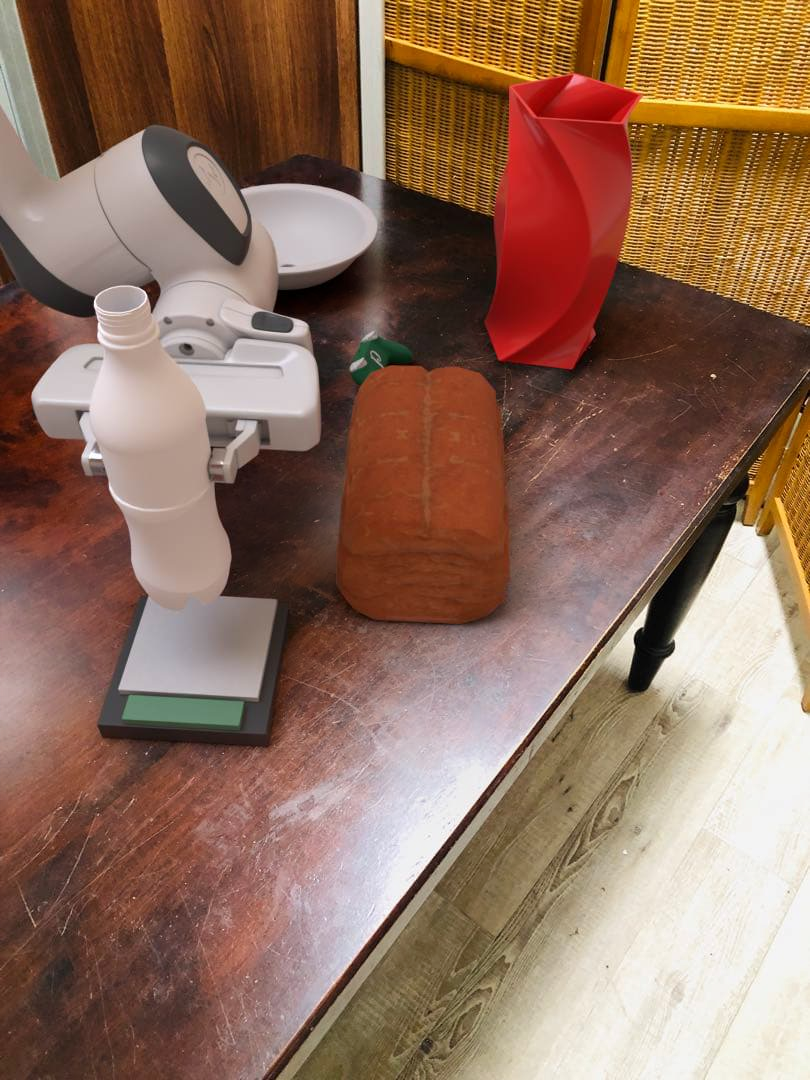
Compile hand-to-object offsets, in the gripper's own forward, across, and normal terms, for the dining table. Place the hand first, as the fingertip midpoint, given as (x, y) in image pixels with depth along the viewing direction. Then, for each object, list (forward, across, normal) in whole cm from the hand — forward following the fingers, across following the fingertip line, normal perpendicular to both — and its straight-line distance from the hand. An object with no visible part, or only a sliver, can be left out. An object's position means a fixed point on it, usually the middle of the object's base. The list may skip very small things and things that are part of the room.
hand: (157, 472), depth 58 cm
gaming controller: (-41, +12, +22) cm, 48 cm away
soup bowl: (-64, -2, +22) cm, 67 cm away
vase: (-52, +31, +22) cm, 64 cm away
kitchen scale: (+1, 0, +21) cm, 21 cm away
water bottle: (-1, 0, +13) cm, 13 cm away
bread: (-18, +18, +22) cm, 34 cm away
